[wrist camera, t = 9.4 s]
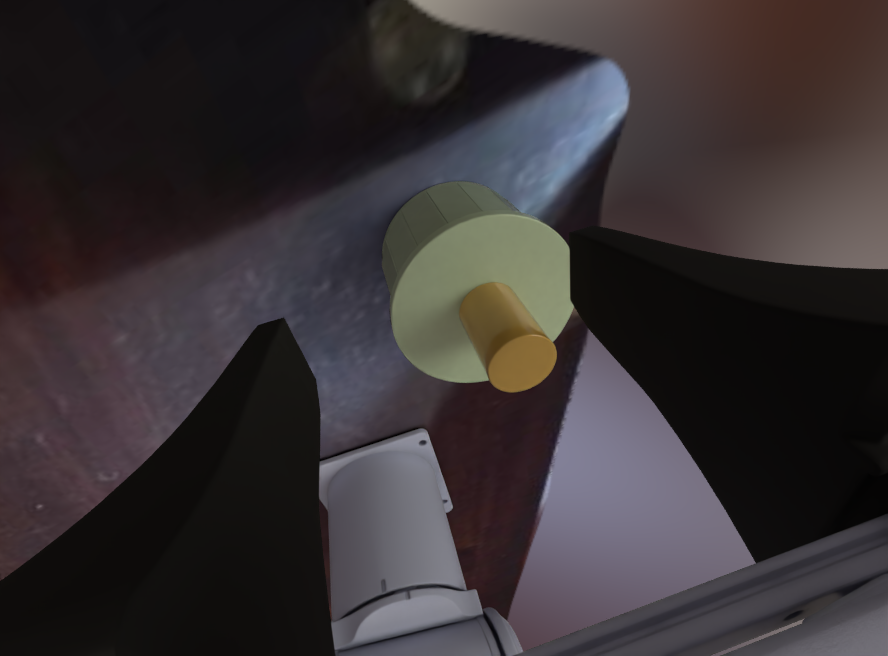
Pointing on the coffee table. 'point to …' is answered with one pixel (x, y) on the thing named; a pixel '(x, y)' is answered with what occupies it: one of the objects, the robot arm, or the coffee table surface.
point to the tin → (433, 219)
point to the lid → (484, 300)
